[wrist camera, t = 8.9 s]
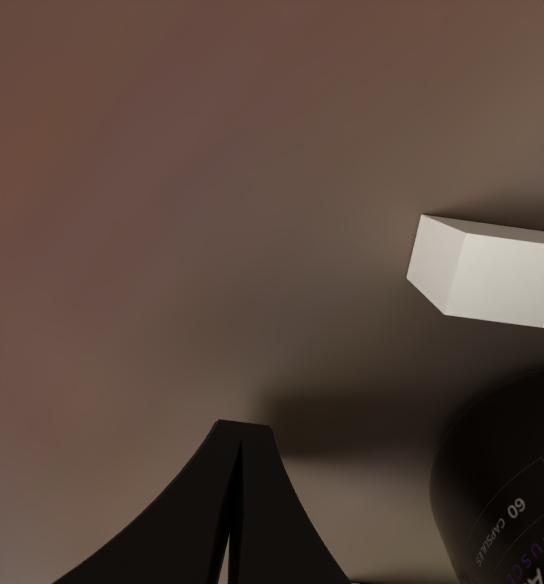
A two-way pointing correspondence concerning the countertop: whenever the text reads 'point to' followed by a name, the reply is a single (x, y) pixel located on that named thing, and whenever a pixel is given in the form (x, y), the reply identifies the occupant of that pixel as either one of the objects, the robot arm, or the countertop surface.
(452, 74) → the countertop surface
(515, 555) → the supplement bottle
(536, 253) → the white knob panel
